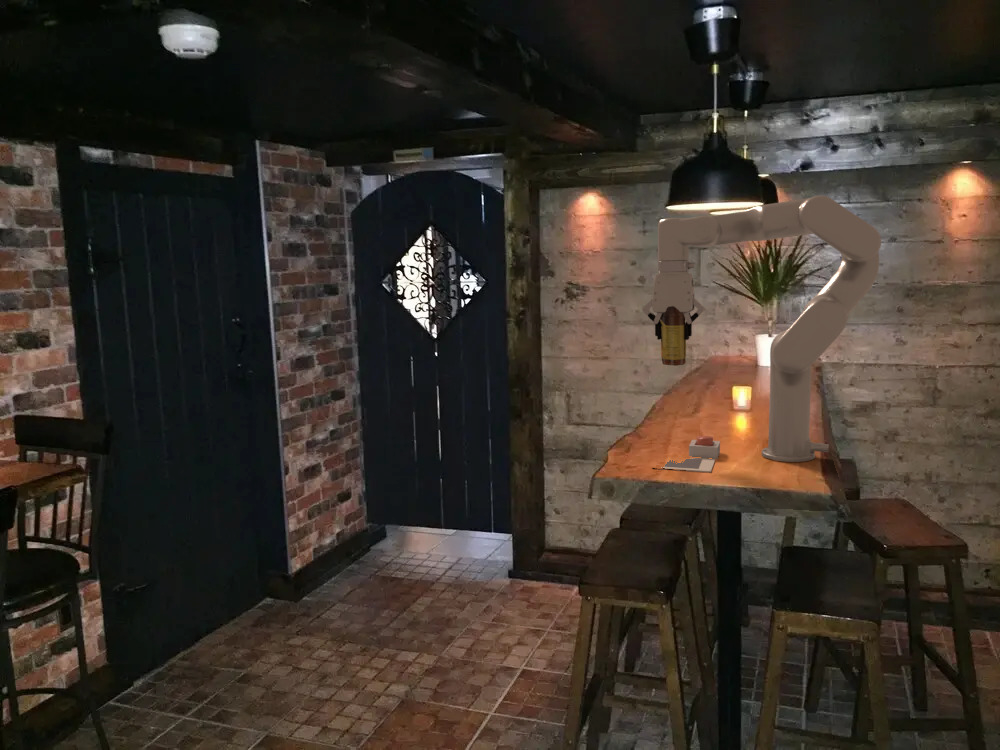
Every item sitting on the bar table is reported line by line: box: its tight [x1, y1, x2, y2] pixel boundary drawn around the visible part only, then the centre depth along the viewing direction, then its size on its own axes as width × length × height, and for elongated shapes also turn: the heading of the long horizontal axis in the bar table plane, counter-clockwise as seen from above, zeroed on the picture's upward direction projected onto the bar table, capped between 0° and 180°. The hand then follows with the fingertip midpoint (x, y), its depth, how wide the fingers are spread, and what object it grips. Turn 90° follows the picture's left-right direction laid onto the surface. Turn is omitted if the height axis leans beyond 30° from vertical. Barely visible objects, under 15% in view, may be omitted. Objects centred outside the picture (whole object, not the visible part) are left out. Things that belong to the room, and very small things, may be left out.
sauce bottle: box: [660, 306, 687, 367], centre depth 210 cm, size 6×6×20 cm
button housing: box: [688, 439, 721, 460], centre depth 210 cm, size 7×7×3 cm
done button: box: [696, 435, 714, 446], centre depth 209 cm, size 4×4×3 cm
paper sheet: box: [661, 457, 716, 473], centre depth 201 cm, size 14×12×1 cm
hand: (673, 338), depth 210 cm, fingers closed on sauce bottle, 6 cm apart
